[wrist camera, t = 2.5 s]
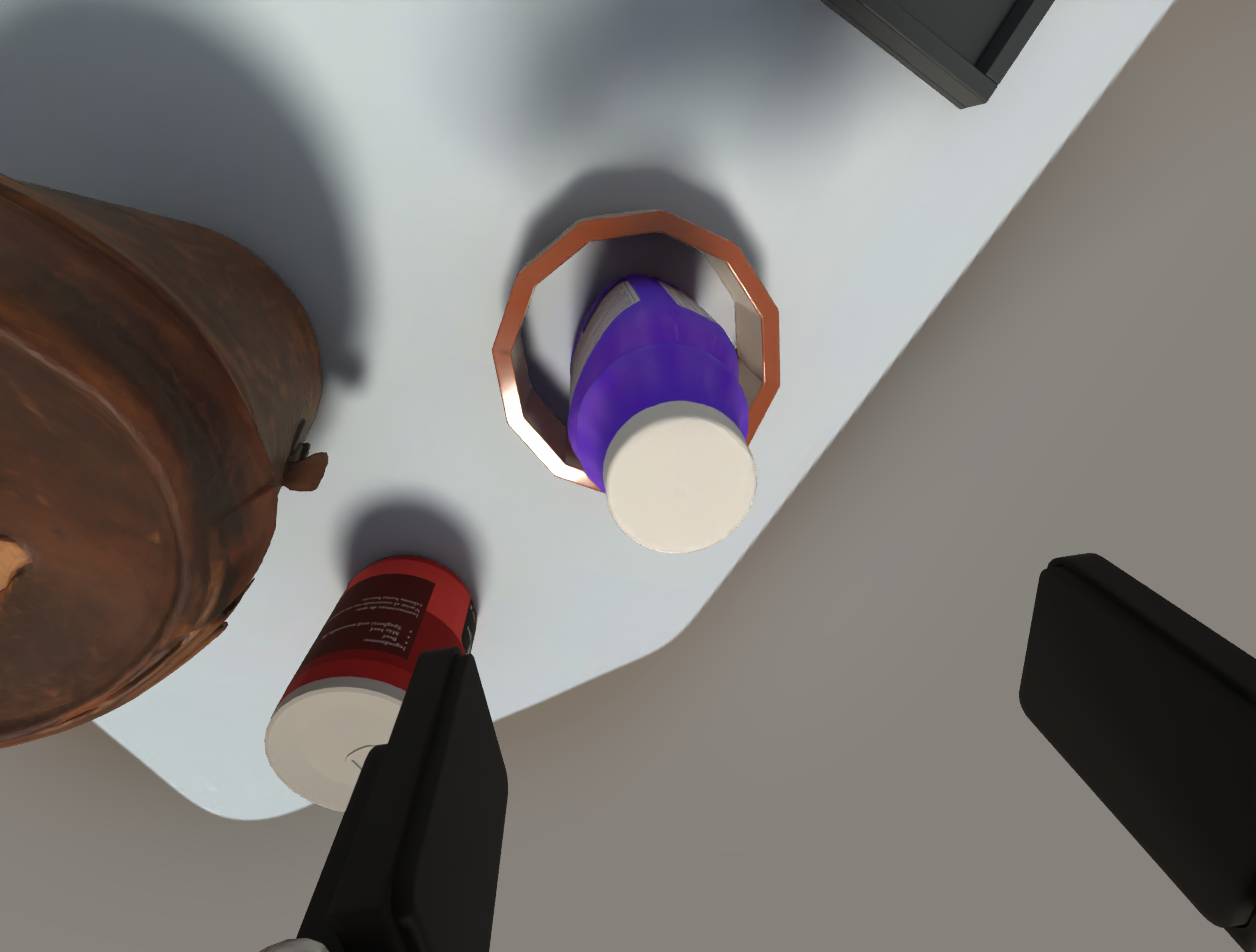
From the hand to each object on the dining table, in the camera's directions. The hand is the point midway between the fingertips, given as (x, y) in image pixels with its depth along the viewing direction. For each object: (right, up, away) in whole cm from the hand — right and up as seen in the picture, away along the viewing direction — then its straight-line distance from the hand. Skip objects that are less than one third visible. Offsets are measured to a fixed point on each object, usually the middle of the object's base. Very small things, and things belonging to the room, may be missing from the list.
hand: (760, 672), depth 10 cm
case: (-24, +9, +21) cm, 33 cm away
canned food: (-15, -5, +27) cm, 32 cm away
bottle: (-2, +10, +22) cm, 24 cm away
